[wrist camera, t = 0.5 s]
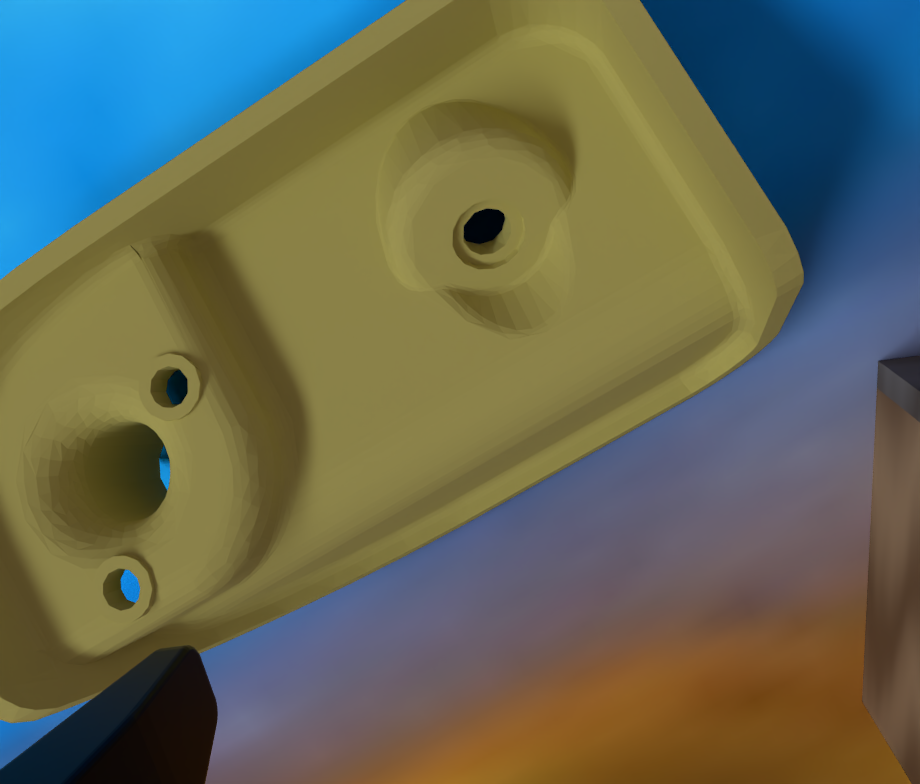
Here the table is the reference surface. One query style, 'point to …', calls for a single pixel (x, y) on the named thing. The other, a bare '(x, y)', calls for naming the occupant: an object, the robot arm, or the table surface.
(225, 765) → the table surface
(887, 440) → the rail
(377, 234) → the plastic component
